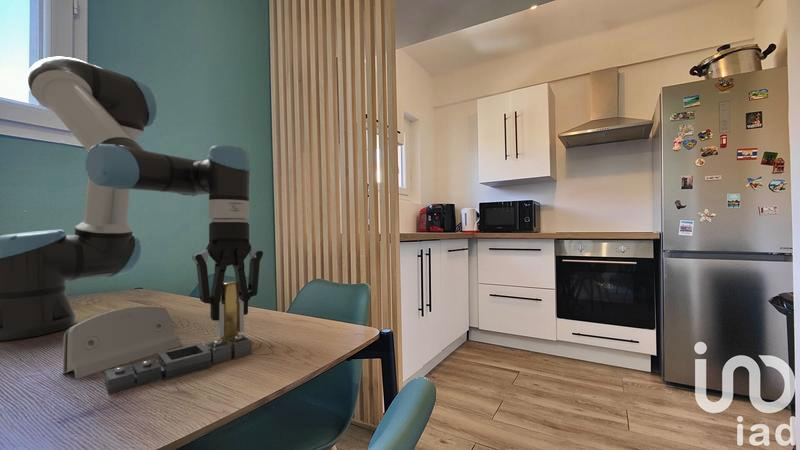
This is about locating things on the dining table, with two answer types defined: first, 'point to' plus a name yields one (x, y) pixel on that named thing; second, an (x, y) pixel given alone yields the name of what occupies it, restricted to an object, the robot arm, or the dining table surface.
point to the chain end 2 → (206, 352)
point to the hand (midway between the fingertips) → (229, 332)
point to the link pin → (230, 309)
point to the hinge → (117, 339)
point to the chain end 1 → (146, 373)
